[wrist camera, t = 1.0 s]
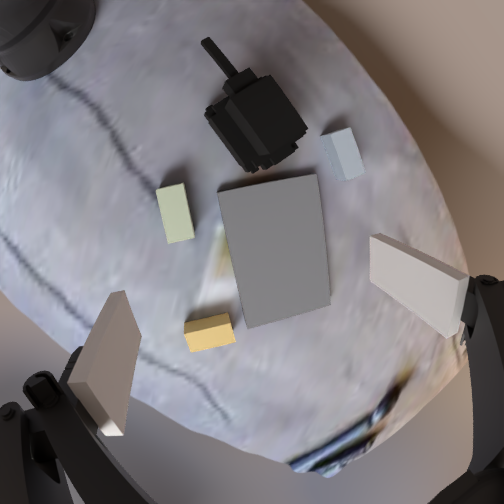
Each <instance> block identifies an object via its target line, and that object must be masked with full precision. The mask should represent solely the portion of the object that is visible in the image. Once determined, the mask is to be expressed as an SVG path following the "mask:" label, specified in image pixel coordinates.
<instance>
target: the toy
mask: <svg viewBox="0 0 504 504" xmlns="http://www.w3.org/2000/svg"><path fill="white" fill-rule="evenodd" d="M201 45H202V46H203V47H204V49H205V50H206V51H207V52H208V53H209V55H210V56H211V57H212V58H213V60H214V61H215V62H216V63H217V64H218V66H219V67H220V68H221V69H222V71H223V72H224V73H225V74H226V76H227V77H228V78H229V79H228V80H226V81H225V84H224V86H223V90H224V91H225V92H226V93H227V95H228V97H226V98H225V99H223V100H221V101H220V102H218V103H217V104H215V105H214V106H213V105H210V106H209V107H207V108H206V111H207V112H205V114H204V116H205V117H206V119H207V120H208V121H209V124H210V126H211V127H212V128H213V130H214V131H215V132H216V134H217V135H218V137H219V138H220V139H221V141H222V142H223V143H224V145H225V146H226V147H227V149H228V150H229V151H230V153H231V154H232V156H233V157H234V158H235V160H236V161H237V162H238V164H239V165H240V166H242V168H243V169H244V170H245V172H250V171H251V173H252V174H254V173H255V172H256V171H258V170H259V168H258V167H259V166H261V168H262V169H263V170H267V169H268V168H270V167H271V166H273V165H276V164H278V163H279V162H281V161H282V160H283V159H285V158H286V157H288V156H289V155H291V154H292V153H294V152H295V150H296V149H297V148H299V147H298V146H297V144H296V143H295V141H297V140H298V139H300V138H301V137H303V135H304V134H306V130H307V129H308V127H307V126H306V124H305V123H304V121H303V120H302V118H301V117H300V115H299V114H298V112H297V111H296V110H295V108H294V107H293V105H292V104H291V102H290V101H289V99H288V98H287V97H286V95H285V94H284V92H283V91H282V90H281V88H280V87H279V86H278V84H277V83H276V82H275V80H274V79H273V77H272V76H271V75H268V76H264V77H260V78H257V77H256V75H255V74H254V73H253V71H252V70H251V69H250V68H247V69H245V70H244V71H242V72H240V73H238V71H237V70H236V69H235V68H234V66H233V65H232V64H231V63H230V61H229V60H228V59H227V58H226V56H225V55H224V54H223V53H222V52H221V50H220V49H219V48H218V47H217V46H216V44H215V43H214V42H213V41H212V40H211V39H210V37H207V38H205V39H204V40H202V41H201Z"/></svg>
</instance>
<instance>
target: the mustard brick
mask: <svg viewBox="0 0 504 504" xmlns="http://www.w3.org/2000/svg"><path fill="white" fill-rule="evenodd" d="M184 335H185V338H186V341H187V343H188V346H189V349H190V351H191V352H196V351H200V350H205V349H209V348H213V347H218V346H222V345H226V344H230V343H234V342H236V341H235V337H234V333H233V330H232V326H231V322H230V318H229V315H228V313H224V314H220V315H215V316H211V317H207V318H203V319H199V320H194V321H190V322H185V323H184Z"/></svg>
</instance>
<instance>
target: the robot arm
mask: <svg viewBox="0 0 504 504" xmlns="http://www.w3.org/2000/svg"><path fill="white" fill-rule="evenodd" d="M94 17H95V5H94V2H93V0H0V67H1V69H2V70H3V72H4V73H5V74H7V75H8V76H10V77H12V78H14V79H17V80H20V81H31V80H35V79H38V78H41V77H43V76H45V75H47V74H49V73H51V72H52V71H54V70H55V69H57V68H58V67H59V66H61V65H62V64H63V63H64V62H65V61H67V60H68V59H69V58H70V57H71V56H72V55H73V54H74V53H75V51H76V50H77V49H78V48H79V47H80V45H81V44H82V43H83V41H84V40H85V38H86V37H87V35H88V33H89V31H90V29H91V27H92V24H93V21H94ZM370 281H371V282H372V283H374V284H375V285H376V286H378V287H379V288H381V289H382V290H383V291H385V292H386V293H387V294H389V295H390V296H391V297H393V298H394V299H396V300H397V301H398V302H400V303H401V304H402V305H404V306H405V307H406V308H408V309H409V310H410V311H412V312H413V313H414V314H416V315H417V316H418V317H419V318H421V319H422V320H423V321H425V322H426V323H427V324H429V325H430V326H431V327H432V328H434V329H435V330H436V331H438V332H439V333H440V334H441V335H443V336H444V337H445V338H446V339H447V338H449V337H451V336H452V335H454V334H456V333H457V332H458V329H459V325H460V321H463V322H464V323H465V327H464V331H463V335H462V338H461V341H460V345H462V344H463V341H464V340H465V341H466V343H465V345H466V347H467V353H468V360H469V367H470V377H471V386H472V401H473V456H472V460H471V462H470V465H469V467H468V469H467V472H465V473H464V474H463V475H462V476H460V477H459V478H458V479H457V480H455V481H454V482H453V483H451V484H450V485H449V486H447V487H446V488H445V489H443V490H442V491H441V492H440V493H439V494H437V496H435V497H434V498H433V499H432V500H431V501H430V502H429V503H428V504H504V281H499V280H498V279H496V278H495V277H493V276H490V275H479V276H477V277H476V278H473V277H471V276H469V275H467V274H465V273H463V272H461V271H460V270H458V269H456V268H454V267H452V266H450V265H448V264H446V263H444V262H442V261H440V260H437V259H435V258H433V257H431V256H429V255H427V254H425V253H423V252H421V251H419V250H417V249H414V248H412V247H410V246H408V245H406V244H404V243H401V242H399V241H397V240H395V239H392V238H390V237H388V236H386V235H383V234H381V233H379V234H375V235H371V236H370ZM141 337H142V336H141V333H140V331H139V328H138V326H137V323H136V321H135V318H134V316H133V313H132V310H131V308H130V305H129V302H128V299H127V297H126V294H125V291H124V290H123V291H118V292H113V293H111V294H110V295H109V297H108V299H107V301H106V303H105V305H104V307H103V308H102V310H101V312H100V314H99V316H98V318H97V320H96V322H95V324H94V326H93V328H92V330H91V332H90V334H89V336H88V338H87V340H86V342H85V344H84V346H79V347H78V348H77V349H76V350H75V351H74V352H73V353H72V355H71V357H70V359H69V361H68V364H67V365H66V367H65V370H64V371H63V373H62V376H61V378H60V380H59V382H57V381H56V379H55V378H54V376H53V375H52V373H50V372H49V371H40V372H37V373H35V374H33V375H32V376H31V377H29V378H28V379H27V381H26V382H25V383H24V386H23V392H24V394H25V395H26V397H27V398H28V399H29V401H30V402H31V404H32V405H33V406H34V407H35V408H33V409H29V410H26V411H24V410H23V409H22V408H21V406H20V405H19V404H18V403H17V402H9V403H7V404H4V405H3V406H2V407H1V408H0V504H74V503H73V500H72V497H71V494H70V491H69V487H68V484H67V480H66V477H65V473H64V470H65V472H66V474H67V475H68V477H69V479H70V480H71V482H72V484H73V486H74V487H75V489H76V490H77V492H78V494H79V495H80V497H81V498H82V500H83V501H84V503H85V504H157V502H155V501H154V500H153V499H152V498H151V497H150V496H149V495H148V494H147V493H146V492H145V491H144V490H143V489H142V488H141V487H140V486H139V485H138V484H137V482H136V481H135V480H134V479H133V478H132V477H131V476H130V475H129V474H128V473H127V472H126V470H125V469H124V468H123V467H122V466H121V465H120V463H119V462H118V461H117V460H116V459H115V457H114V456H113V455H112V454H111V453H110V451H109V450H108V449H107V447H106V446H105V445H104V444H103V442H102V441H101V440H100V438H99V437H98V436H97V435H96V434H97V429H98V427H99V428H100V429H101V431H102V432H103V433H104V434H105V436H120V435H124V429H125V422H126V416H127V409H128V403H129V397H130V391H131V386H132V380H133V375H134V370H135V365H136V360H137V355H138V350H139V346H140V341H141ZM63 468H64V469H63Z"/></svg>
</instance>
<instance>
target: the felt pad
mask: <svg viewBox="0 0 504 504" xmlns="http://www.w3.org/2000/svg"><path fill="white" fill-rule="evenodd" d="M217 195H218V200H219V205H220V209H221V214H222V219H223V223H224V228H225V233H226V237H227V242H228V247H229V251H230V256H231V260H232V265H233V269H234V274H235V278H236V283H237V287H238V291H239V296H240V300H241V304H242V309H243V313H244V317H245V322H246V325H247V328H248V329H249V328H253V327H257V326H261V325H265V324H268V323H272V322H275V321H279V320H282V319H286V318H289V317H293V316H296V315H300V314H303V313H306V312H310V311H313V310H316V309H319V308H322V307H326V306H329V305H331V302H330V288H329V275H328V263H327V253H326V243H325V233H324V225H323V216H322V208H321V201H320V193H319V186H318V179H317V174H308V175H302V176H296V177H290V178H285V179H279V180H274V181H268V182H263V183H258V184H253V185H248V186H243V187H238V188H233V189H229V190H224V191H219V192H217Z"/></svg>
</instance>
